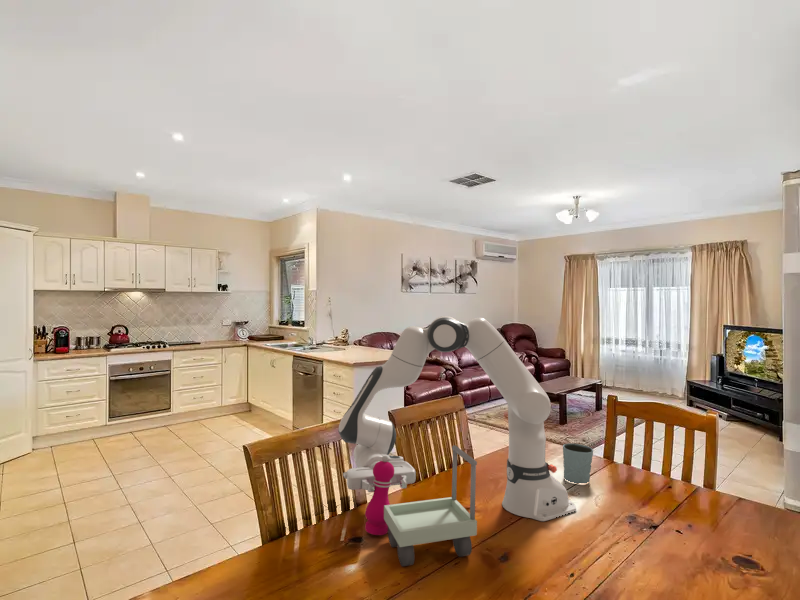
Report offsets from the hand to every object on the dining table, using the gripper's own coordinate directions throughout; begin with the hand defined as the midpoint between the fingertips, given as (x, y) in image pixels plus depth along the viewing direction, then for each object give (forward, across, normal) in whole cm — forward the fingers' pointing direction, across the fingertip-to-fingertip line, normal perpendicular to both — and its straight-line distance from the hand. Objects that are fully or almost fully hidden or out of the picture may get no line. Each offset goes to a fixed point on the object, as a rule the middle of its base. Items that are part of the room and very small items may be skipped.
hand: (388, 487), depth 123 cm
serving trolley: (+12, +8, +12) cm, 18 cm away
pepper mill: (0, -3, +12) cm, 12 cm away
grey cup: (-15, +76, +12) cm, 78 cm away
